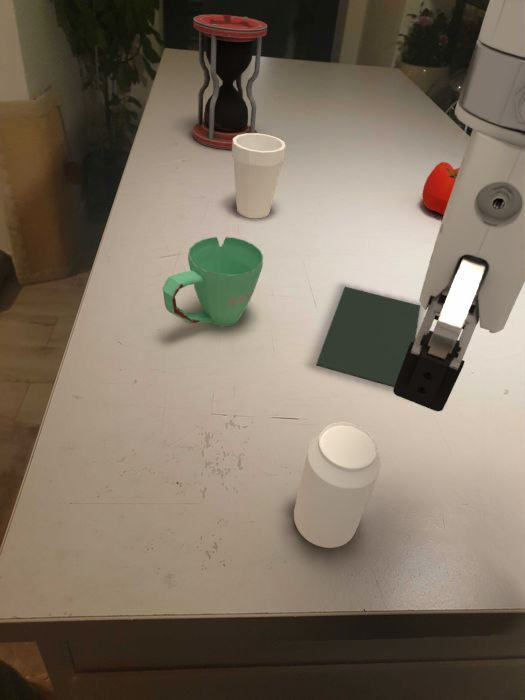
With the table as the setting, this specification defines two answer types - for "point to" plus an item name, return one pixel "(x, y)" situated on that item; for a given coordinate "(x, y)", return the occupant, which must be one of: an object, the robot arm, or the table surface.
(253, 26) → the hourglass
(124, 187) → the table surface
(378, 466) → the beverage can
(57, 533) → the table surface
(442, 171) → the tomato
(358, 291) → the mat
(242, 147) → the foam cup
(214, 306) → the mug
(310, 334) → the table surface
